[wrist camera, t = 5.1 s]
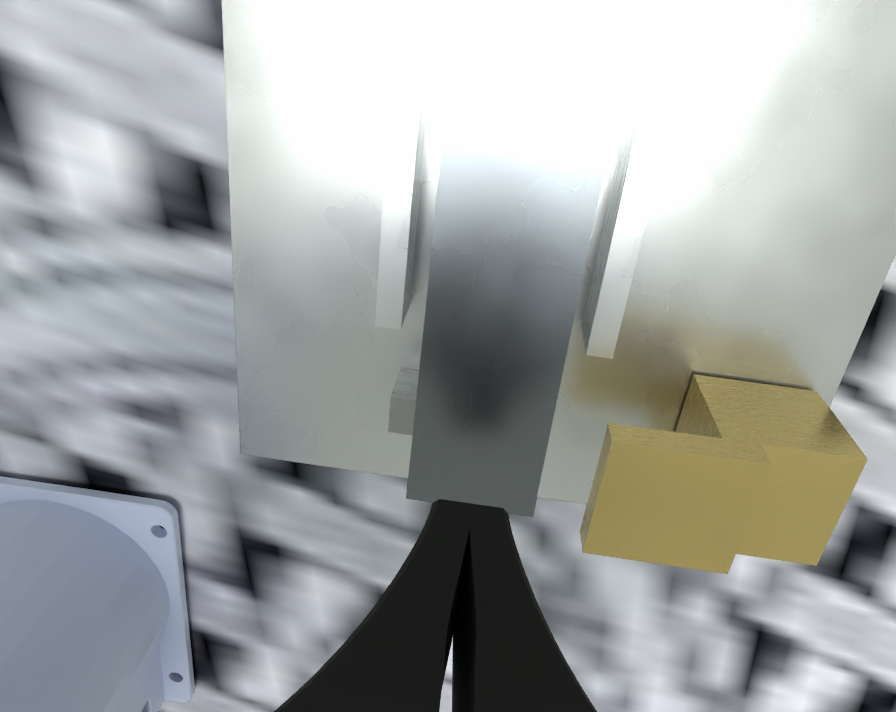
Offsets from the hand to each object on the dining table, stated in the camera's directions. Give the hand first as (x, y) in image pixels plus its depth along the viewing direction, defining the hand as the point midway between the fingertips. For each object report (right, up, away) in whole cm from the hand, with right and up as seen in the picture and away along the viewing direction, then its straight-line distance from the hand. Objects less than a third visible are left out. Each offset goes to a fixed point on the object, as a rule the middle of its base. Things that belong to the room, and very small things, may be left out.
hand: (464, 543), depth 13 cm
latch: (+6, +2, +5) cm, 8 cm away
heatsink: (+2, +7, +4) cm, 8 cm away
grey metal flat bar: (+1, +6, +1) cm, 6 cm away
